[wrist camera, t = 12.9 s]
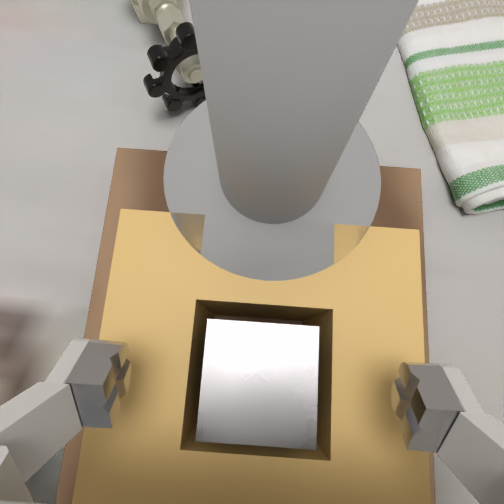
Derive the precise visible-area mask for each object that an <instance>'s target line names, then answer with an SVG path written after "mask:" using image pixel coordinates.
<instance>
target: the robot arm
mask: <svg viewBox="0 0 504 504" xmlns="http://www.w3.org/2000/svg"><path fill="white" fill-rule="evenodd" d="M128 352H129V349H128V344H127V343H125V342H118V341H107V340H97V339H83V338H74V339H73V340H72V341H70V343H69V344H68V346H67V347H66V349H65V351H64V352H63V354H62V355H61V357H60V358H59V360H58V361H57V363H56V364H55V366H54V368H53V369H52V371H51V372H50V374H49V375H48V377H47V378H46V380H45V381H44V382H38V383H36V384H35V385H33V386H31V387H30V388H28V389H27V390H25V391H24V392H22V393H20V394H19V395H17V396H16V397H14V398H12V399H11V400H9V401H8V402H6V403H5V404H3V405H1V406H0V504H45V503H34V502H33V498H32V496H31V494H30V492H29V490H28V488H27V486H26V484H25V482H26V481H27V480H28V479H29V478H30V477H32V476H33V475H34V474H35V473H36V472H37V471H38V470H39V469H40V468H41V467H42V466H43V465H44V464H45V463H46V462H48V461H49V460H50V459H51V458H52V457H53V456H54V455H55V454H56V453H57V452H58V451H59V450H60V449H61V448H62V447H64V446H65V445H66V444H67V443H68V442H69V441H70V440H71V439H72V438H73V437H74V436H75V435H76V434H77V433H78V432H80V431H81V430H82V427H93V428H113V426H114V423H115V421H116V418H117V416H118V413H119V411H120V408H121V406H120V400H119V399H120V398H122V397H123V396H124V395H126V393H127V390H128V388H129V385H130V380H131V370H132V368H131V362H130V361H129V360H128V359H127V358H126V357H127V355H128ZM398 372H399V375H400V377H399V378H397V379H396V380H394V382H393V385H392V388H391V401H392V406H393V410H394V413H395V414H396V415H397V416H398V417H399V418H400V419H401V420H402V422H401V425H400V427H399V428H400V431H401V434H402V437H403V440H404V443H405V446H406V449H407V450H416V451H426V452H435V453H437V455H438V456H439V457H440V458H441V460H442V461H443V462H444V463H445V464H446V465H447V466H448V467H449V469H450V470H451V471H452V472H453V473H454V474H455V475H456V477H457V478H458V479H459V480H460V481H461V482H462V483H463V485H464V486H465V487H466V488H467V489H468V490H469V491H470V493H471V494H472V495H473V496H474V497H475V498H476V499H477V501H478V502H479V503H480V504H504V424H503V423H501V422H500V421H499V420H497V419H496V418H495V417H494V416H492V415H491V414H485V412H484V411H483V409H482V407H481V405H480V404H479V402H478V400H477V398H476V397H475V395H474V393H473V391H472V390H471V388H470V386H469V385H468V383H467V381H466V379H465V378H464V376H463V374H462V372H461V371H460V369H459V368H458V367H457V366H456V365H448V364H433V363H417V362H402V363H401V364H400V366H399V369H398Z"/></svg>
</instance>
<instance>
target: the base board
mask: <svg viewBox="0 0 504 504" xmlns="http://www.w3.org/2000/svg"><path fill="white" fill-rule="evenodd" d="M167 152H168V151H157V150H142V149H128V148H117V153H116V158H115V164H114V170H113V176H112V181H111V187H110V193H109V198H108V204H107V210H106V215H105V221H104V227H103V232H102V238H101V244H100V250H99V255H98V261H97V267H96V272H95V278H94V284H93V289H92V295H91V301H90V307H89V312H88V318H87V324H86V329H85V335H84V339H97V340H99V336H100V330H101V324H102V318H103V312H104V306H105V300H106V294H107V288H108V282H109V276H110V270H111V264H112V258H113V252H114V246H115V240H116V234H117V228H118V222H119V216H120V210H121V209H132V210H146V211H160V212H170V211H169V209H168V206H167V202H166V198H165V193H164V181H163V177H164V165H165V160H166V155H167ZM380 174H381V192H380V199H379V204H378V208H377V211H376V214H375V216H374V219H373V221H372V223H371V225H370V226H373V227H387V228H402V229H416V230H419V234H420V258H421V282H422V306H423V330H424V354H425V363H429V346H428V324H427V302H426V279H425V257H424V234H423V212H422V190H421V169H415V168H401V167H386V166H380ZM214 319H219V320H233V321H247V322H261V323H276V324H290V325H302V321H291V320H277V319H263V318H250V317H236V316H222V315H214ZM83 433H84V427H82V430H81V431H80V432H78V433H77V434H76V435H75V436H74V437H73V438H72V439H71V440H70V441H69V442H68V443H67V444H66V445H65V449H64V455H63V460H62V466H61V472H60V477H59V483H58V489H57V494H56V500H55V504H72V499H73V493H74V487H75V481H76V475H77V469H78V463H79V457H80V451H81V445H82V439H83ZM429 473H430V497H431V504H436V503H435V481H434V459H433V452H429Z"/></svg>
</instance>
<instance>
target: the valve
mask: <svg viewBox="0 0 504 504" xmlns="http://www.w3.org/2000/svg"><path fill="white" fill-rule="evenodd" d="M130 1H131V4H132V6H133V9H134V11H135V13H136V15H137V17H138V20H139V22H141V23H148V24H158V25H159V28H160V31H161V33H162V35H163V37H164V39H165V41H166V43H167V44H170V45H169V46H165V47H162V46H161V45H153V46H152V47H150V48H149V50H148V52H147V56H148V58H149V60H150V63H151V65H152V67H153V69H154V70H155V71H157V72H160V77H159V78H156V79H153V78H152V76H151V74H148V75H147V76H145V78H144V81H143V82H144V85H145V87H146V89H147V92H148V94H149V95H150V96H151V97H154V98H156V97H160V96H162V99H163V101H164V103H165V105H166V108H167V109H168V110H169V111H177V110H179V109H180V108H181V106H182V102H183V101H185V100H192V101H193V104H194V106H195V107H198V106H199V105H200V104H201V103H202V102H204V101H205V100H206V96H205V91H204V85H203V83H202V84H199V82H200V81H201V80H202V73H201V67H200V61H199V55H198V49H197V43H196V37H195V31H194V27H193V25H192V24H191V23H189V22H186V21H185V19H184V17H183V15H182V12H181V9H182V6H183V0H130ZM175 68H176V69H177V71H178V72H179V73H180V74H182V76H183V79H184V81H185V82H186V83H190V84H191V87H190V88H181V87H178V86H176V85H174V84H173V83H172V82H171V78H172V74H173V71H174V70H175ZM165 93H168V94H169V95H167V94H165Z"/></svg>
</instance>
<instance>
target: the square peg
mask: <svg viewBox="0 0 504 504" xmlns="http://www.w3.org/2000/svg"><path fill="white" fill-rule="evenodd" d="M318 361H319V327H318V326H304V325H290V324H276V323H261V322H247V321H233V320H219V319H207V327H206V337H205V347H204V358H203V368H202V378H201V389H200V399H199V409H198V420H197V430H196V440H195V441H199V442H213V443H227V444H241V445H254V446H268V447H282V448H296V449H310V450H316V443H317V402H318Z"/></svg>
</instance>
